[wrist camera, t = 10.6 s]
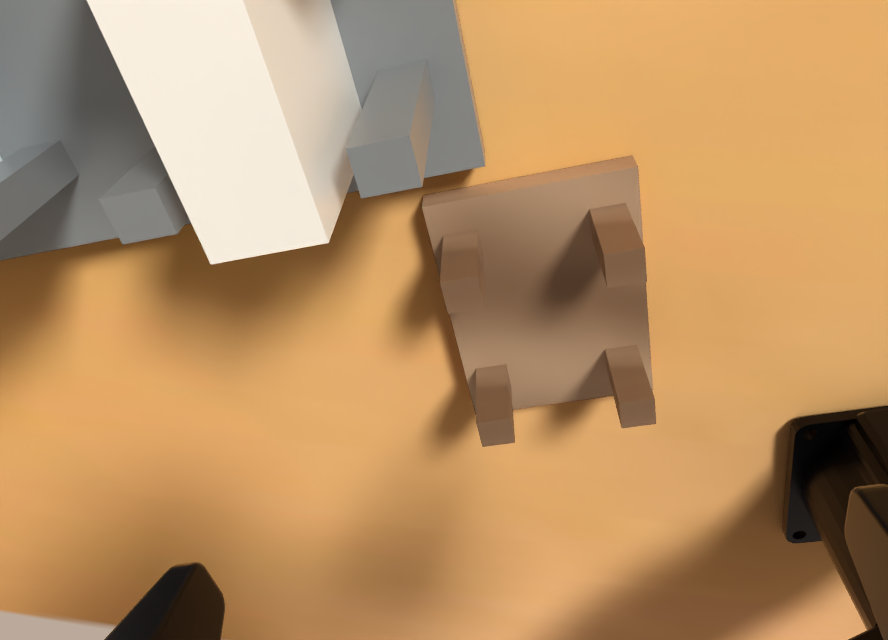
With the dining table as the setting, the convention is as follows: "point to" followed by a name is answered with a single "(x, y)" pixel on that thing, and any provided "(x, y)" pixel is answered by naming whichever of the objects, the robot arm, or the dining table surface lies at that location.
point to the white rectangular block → (242, 113)
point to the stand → (547, 291)
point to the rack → (134, 154)
